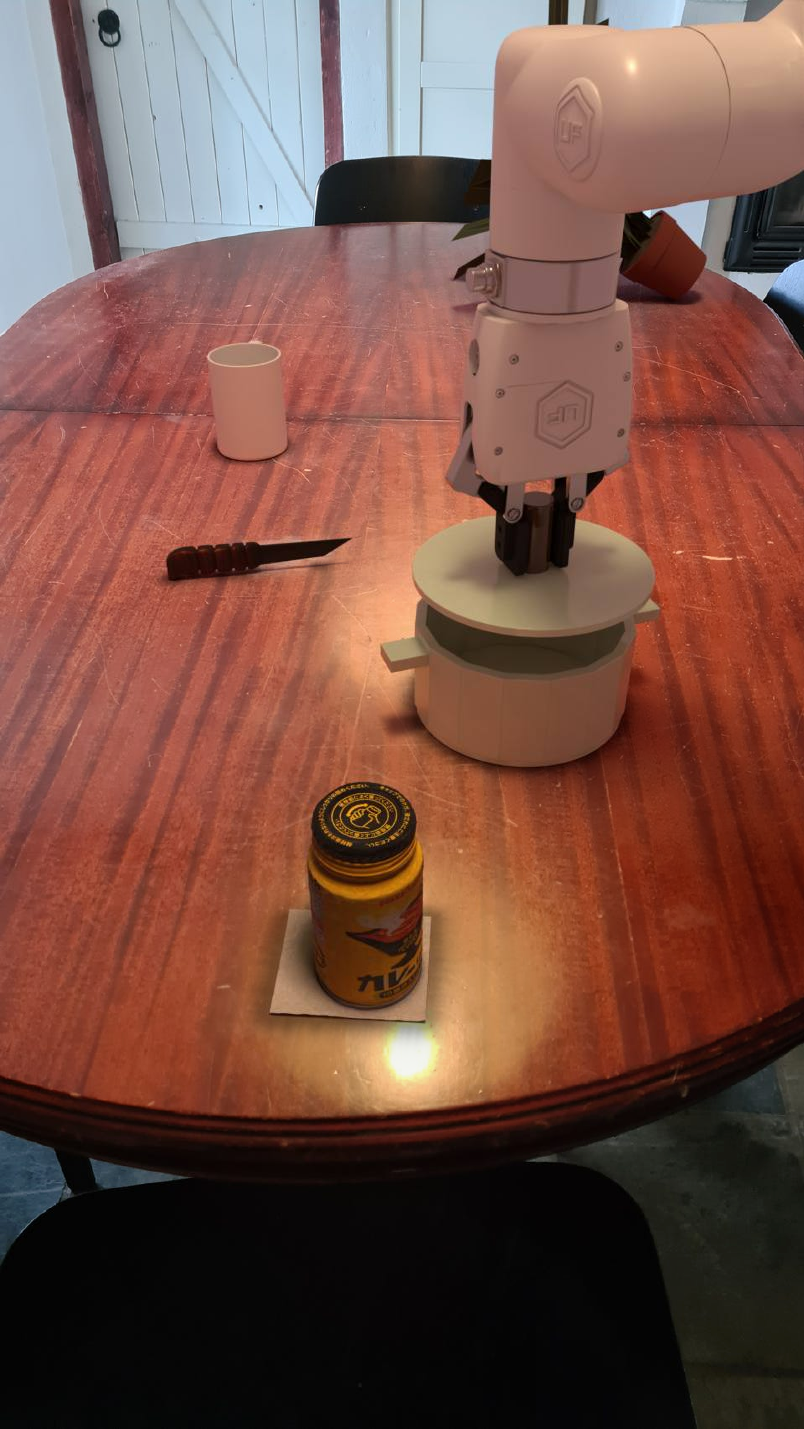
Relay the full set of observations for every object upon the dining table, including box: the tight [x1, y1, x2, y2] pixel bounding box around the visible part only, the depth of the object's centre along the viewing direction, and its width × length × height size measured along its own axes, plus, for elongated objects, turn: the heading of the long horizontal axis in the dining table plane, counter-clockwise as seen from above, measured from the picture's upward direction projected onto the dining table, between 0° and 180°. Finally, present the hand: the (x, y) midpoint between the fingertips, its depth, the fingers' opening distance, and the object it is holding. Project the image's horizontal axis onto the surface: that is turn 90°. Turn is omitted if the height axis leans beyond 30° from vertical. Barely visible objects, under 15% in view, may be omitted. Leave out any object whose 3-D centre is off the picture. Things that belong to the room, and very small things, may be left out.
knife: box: [165, 537, 353, 581], centre depth 94 cm, size 17×1×3 cm, turn 99°
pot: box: [379, 597, 661, 768], centre depth 76 cm, size 16×21×8 cm
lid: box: [411, 490, 656, 637], centre depth 70 cm, size 17×17×6 cm
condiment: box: [269, 781, 432, 1022], centre depth 55 cm, size 7×8×12 cm
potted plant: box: [451, 0, 708, 301], centre depth 152 cm, size 45×39×43 cm
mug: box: [206, 340, 289, 461], centre depth 116 cm, size 12×8×10 cm, turn 178°
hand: (532, 560), depth 71 cm, fingers closed on lid, 2 cm apart
